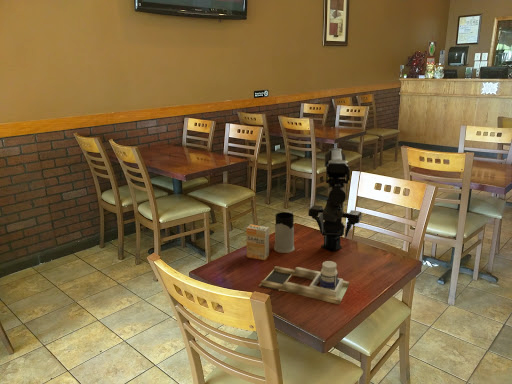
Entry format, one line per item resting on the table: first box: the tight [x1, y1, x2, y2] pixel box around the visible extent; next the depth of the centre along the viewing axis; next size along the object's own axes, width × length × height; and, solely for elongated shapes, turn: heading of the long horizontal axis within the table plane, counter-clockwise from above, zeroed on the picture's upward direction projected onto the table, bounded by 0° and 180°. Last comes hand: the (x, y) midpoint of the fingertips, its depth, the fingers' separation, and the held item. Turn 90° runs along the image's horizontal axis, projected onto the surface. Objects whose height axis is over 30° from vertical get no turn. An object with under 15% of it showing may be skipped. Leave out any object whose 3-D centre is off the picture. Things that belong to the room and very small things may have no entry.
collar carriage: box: [308, 274, 344, 297], centre depth 136 cm, size 9×9×2 cm
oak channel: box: [260, 265, 350, 305], centre depth 139 cm, size 28×13×3 cm, turn 64°
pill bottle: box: [319, 260, 339, 290], centre depth 135 cm, size 6×6×10 cm
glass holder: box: [273, 211, 295, 254], centre depth 169 cm, size 9×14×15 cm, turn 156°
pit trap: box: [258, 269, 293, 292], centre depth 144 cm, size 8×14×1 cm, turn 154°
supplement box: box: [245, 223, 270, 261], centre depth 159 cm, size 8×5×13 cm, turn 68°
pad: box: [337, 286, 349, 301], centre depth 135 cm, size 8×10×1 cm
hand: (333, 235), depth 149 cm, fingers open, 9 cm apart
